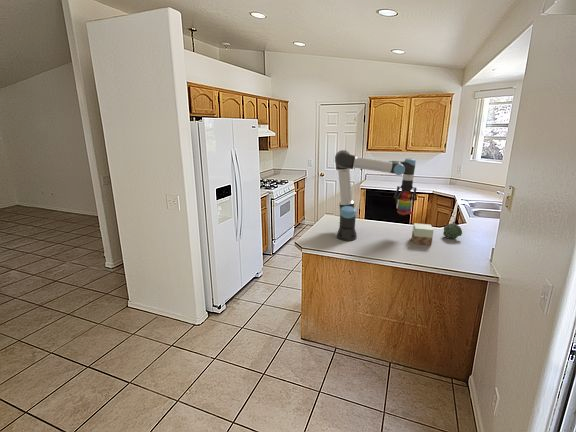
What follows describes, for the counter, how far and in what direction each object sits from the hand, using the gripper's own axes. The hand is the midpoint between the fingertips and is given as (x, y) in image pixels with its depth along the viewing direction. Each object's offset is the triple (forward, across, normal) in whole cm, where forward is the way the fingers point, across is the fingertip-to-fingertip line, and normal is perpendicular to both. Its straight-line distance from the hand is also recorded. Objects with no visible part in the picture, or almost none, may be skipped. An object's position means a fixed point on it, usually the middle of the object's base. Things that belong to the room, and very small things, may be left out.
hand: (403, 208), depth 240 cm
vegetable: (+21, +38, +2) cm, 43 cm away
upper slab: (+15, +14, -12) cm, 24 cm away
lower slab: (+21, +14, -12) cm, 28 cm away
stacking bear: (+4, 0, 0) cm, 4 cm away
